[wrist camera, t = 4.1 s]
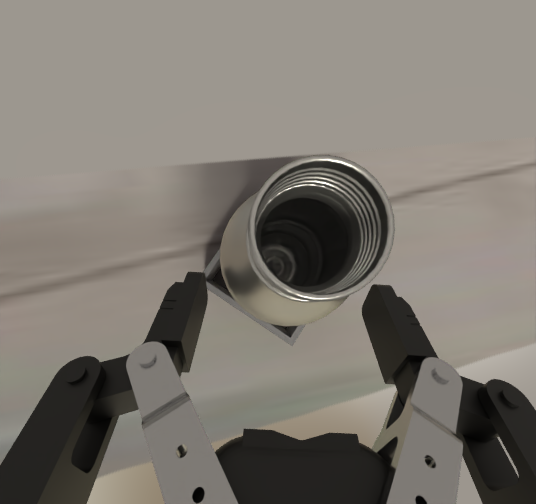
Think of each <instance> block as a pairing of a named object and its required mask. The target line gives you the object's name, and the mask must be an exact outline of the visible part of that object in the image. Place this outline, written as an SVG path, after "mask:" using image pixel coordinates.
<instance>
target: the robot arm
mask: <svg viewBox="0 0 536 504" xmlns="http://www.w3.org/2000/svg"><path fill="white" fill-rule="evenodd" d="M207 299H208V294H207V285H206V276H205V273H201V272H188V273H187V275H186V278H185V280H184V283H182V282H175V283H174V284H173V285H172V286H171V287H170V288H169V289H168V290H167V293H166V295H165V297H164V299H163V302H162V304H161V306H160V309H159V310H158V313H157V315H156V317H155V319H154V322H153V324H152V326H151V328H150V331H149V333H148V335H147V337H146V339H145V341H144V343H143V344H142V345H140V346H138V347H137V348H135V349H134V350H133V351H132V353H131V354H129V355H126V356H124V357H120V358H116V359H112V360H108V361H104V362H99V360H97V359H96V358H94V357H91V356H84V357H79V358H77V359H74V360H72V361H70V362H69V363H67V364H66V365H64V366H63V367H62V368H61V369H60V370H59V371H58V373H57V374H56V375H55V377H54V379H53V380H52V382H51V383H50V385H49V387H48V388H47V390H46V392H45V393H44V395H43V397H42V398H41V400H40V401H39V403H38V405H37V406H36V408H35V410H34V411H33V413H32V415H31V416H30V418H29V419H28V421H27V423H26V424H25V426H24V428H23V429H22V431H21V432H20V434H19V436H18V437H17V439H16V441H15V442H14V444H13V446H12V447H11V449H10V450H9V452H8V454H7V455H6V457H5V459H4V460H3V462H2V464H1V465H0V504H86V503H87V501H88V498H89V496H90V493H91V490H92V488H93V485H94V482H95V479H96V477H97V474H98V471H99V469H100V466H101V463H102V461H103V458H104V455H105V452H106V450H107V447H108V444H109V442H110V439H111V436H112V433H113V431H114V428H115V425H116V423H117V420H118V417H119V415H122V414H125V413H128V412H132V411H135V410H138V409H139V411H140V414H141V418H142V428H143V432H144V436H145V439H146V443H147V446H148V449H149V453H150V456H151V459H152V463H153V466H154V469H155V472H156V476H157V479H158V482H159V486H160V489H161V493H162V496H163V499H164V502H165V504H456V500H457V492H458V484H459V477H460V468H461V461H462V456H463V458H464V460H465V463H466V465H467V467H468V470H469V472H470V475H471V477H472V479H473V481H474V484H475V486H476V489H477V491H478V494H479V496H480V498H481V501H482V503H483V504H536V410H535V409H534V407H533V406H532V405H531V403H530V402H529V400H528V399H527V398H526V397H525V395H524V394H523V393H522V392H521V391H519V390H518V389H517V388H515V387H514V386H512V385H511V384H509V383H507V382H505V381H502V380H497V379H493V380H490V381H488V382H487V383H486V384H482V383H479V382H476V381H473V380H470V379H467V378H465V377H462V376H460V375H459V374H458V373H457V371H456V370H455V369H454V368H453V367H452V366H451V365H450V364H448V363H447V362H445V361H443V360H441V359H439V358H438V357H437V355H436V353H435V351H434V349H433V347H432V346H431V344H430V342H429V340H428V338H427V336H426V334H425V333H424V331H423V329H422V327H421V326H420V323H419V321H418V320H417V318H415V314H414V312H413V310H412V308H411V307H410V305H409V304H408V303H407V302H406V301H405V300H404V299H403V298H402V297H397V296H396V294H395V292H394V290H393V288H392V287H391V286H390V285H376V284H374V285H372V287H371V289H370V291H369V293H368V295H367V297H366V299H365V301H364V303H363V306H362V316H363V319H364V322H365V325H366V328H367V331H368V334H369V337H370V340H371V343H372V346H373V349H374V352H375V355H376V358H377V361H378V364H379V367H380V370H381V373H382V376H383V379H384V382H385V384H395V385H396V388H397V391H396V393H395V395H394V397H393V400H392V403H391V406H390V409H389V411H388V414H387V417H386V420H385V422H384V425H383V428H382V431H381V433H380V435H379V437H378V438H377V440H376V441H375V443H374V445H373V447H372V449H370V448H369V447H367V446H365V445H363V444H361V443H359V441H358V436H357V434H344V433H327V434H324V435H320V436H317V437H313V438H310V439H306V440H298V439H295V438H292V437H289V436H286V435H284V434H281V433H278V432H276V431H273V430H258V429H244V432H243V436H241V437H238V438H235V439H233V440H231V441H229V442H227V443H226V444H224V445H223V446H221V447H220V448H219V449H218V450H217V451H216V452H214V449H213V448H212V445H211V443H210V441H209V438H208V436H207V434H206V432H205V430H204V427H203V425H202V423H201V421H200V419H199V416H198V414H197V412H196V410H195V408H194V405H193V403H192V401H191V399H190V397H189V395H188V394H187V393H186V391H185V388H184V386H183V384H182V382H181V380H180V376H181V373H182V372H189V371H190V367H191V363H192V360H193V356H194V352H195V348H196V345H197V341H198V337H199V333H200V329H201V326H202V322H203V318H204V314H205V310H206V307H207ZM497 437H500V439H501V440H502V442H503V444H504V446H505V448H506V450H507V452H508V453H509V455H510V457H511V459H512V460H513V463H514V465H515V466H516V468H517V471H518V474H519V478H518V476H517V474H516V472H515V470H514V468H513V466H512V465H511V463H510V461H509V459H508V457H507V455H506V453H505V451H504V449H503V448H502V446H501V444H500V442H499V440H498V438H497Z"/></svg>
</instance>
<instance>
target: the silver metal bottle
mask: <svg viewBox="0 0 536 504" xmlns="http://www.w3.org/2000/svg"><path fill="white" fill-rule="evenodd" d="M394 232H395V226H394V215H393V211H392V207H391V203H390V201H389V199H388V196H387V194H386V192H385V190H384V189H383V187H382V186H381V185H380V183H379V182H378V181H377V179H376V178H375V177H374V176H373V175H371V174H370V173H369V172H368V171H367V170H366V169H364V168H363V167H361V166H360V165H358V164H356V163H355V162H352V161H350V160H347V159H344V158H342V157H336V156H330V155H313V156H308V157H304V158H300V159H297V160H295V161H293V162H290V163H288V164H286V165H285V166H283V167H282V168H280V169H279V170H277V171H276V172H275V173H274V174H273V175H272V176H271V177H270V178H269V179H268V180H267V181H266V182H265V183H264V185H263V186H262V188H261V189H260V191H258V192H257V193H255V194H254V195H252V196H251V197H249V198H248V199H247V200H246V201H245V202H244V203H243V204H242V205H241V206H240V207H239V208H238V209H237V210H236V212H235V213H234V214H233V216H232V217H231V219H230V220H229V222H228V225H227V227H226V229H225V231H224V234H223V238H222V242H221V247H220V265H221V270H222V276H223V278H224V281H225V284H226V286H227V289H228V290H229V292H230V293H231V295H232V297H233V298H234V300H235V301H236V302H237V303H238V304H239V305H240V306H241V307H242V308H243V309H244V310H245V311H246V312H248V313H249V314H251V315H252V316H254V317H255V318H257V319H259V320H262V321H264V322H267V323H270V324H274V325H280V326H300V325H304V324H308V323H312V322H315V321H317V320H319V319H321V318H323V317H325V316H327V315H328V314H330V313H331V312H332V311H334V310H335V309H336V308H338V307H339V306H340V305H341V304H342V303H343V302H344V301H345V300H346V299H347V297H348V296H349V295H351V294H353V293H355V292H357V291H359V290H360V289H362V288H363V287H364V286H366V285H367V284H368V283H370V282H371V281H372V280H373V279H374V278H375V277H376V275H377V274H378V273H379V272H380V271H381V269H382V268H383V266H384V264H385V263H386V261H387V259H388V257H389V254H390V251H391V248H392V245H393V239H394Z"/></svg>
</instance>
